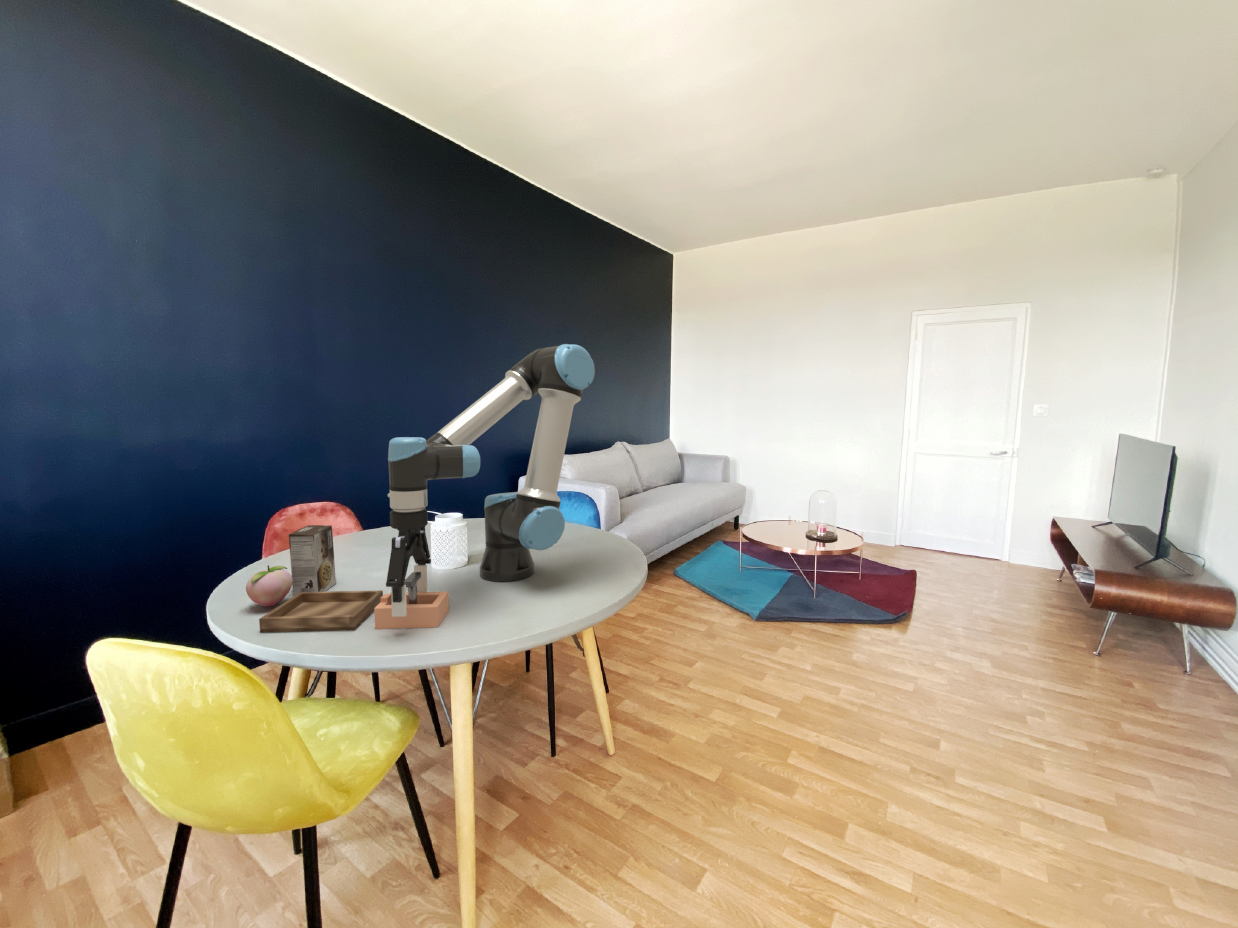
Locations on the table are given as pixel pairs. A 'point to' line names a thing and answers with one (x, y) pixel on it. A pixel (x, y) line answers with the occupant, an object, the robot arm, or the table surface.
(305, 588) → the coffee box
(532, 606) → the table surface
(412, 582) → the grey t-shaped block
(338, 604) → the tray
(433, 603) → the terracotta rectangular box
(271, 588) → the decorative fruit
